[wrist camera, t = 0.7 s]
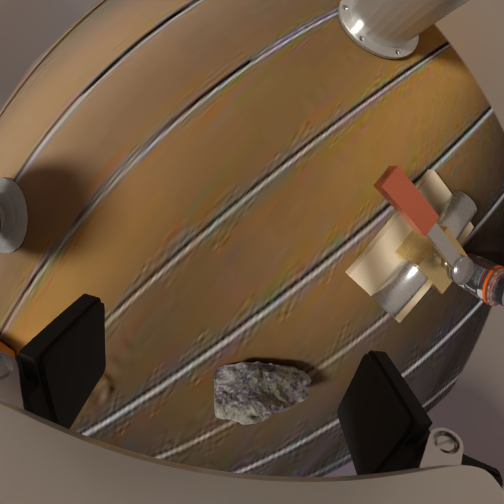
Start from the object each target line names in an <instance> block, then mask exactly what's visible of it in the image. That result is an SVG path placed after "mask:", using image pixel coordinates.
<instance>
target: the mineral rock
mask: <svg viewBox="0 0 504 504" xmlns="http://www.w3.org/2000/svg"><path fill="white" fill-rule="evenodd" d="M310 382H311V378H310V377H309V376H308V375H307V374H306V373H305V372H303V371H302V370H298V369H297V368H295V367H291V366H280V365H275V364H273V363H268V364H264V363H261V362H259V361H257V362H254V363H250V362H241V363H238V364H231V365H224V366H222V367H219V368H218V369H217V370H216V372H215V375H214V385H215V394H214V408H215V415H216V417H217V418H220V419H232V420H235V421H237V422H240V423H241V424H255V423H257V422H260V421H264V420H265V419H267V418H268V417H269V416H271V415H272V414H276V413H278V412H283V411H286V410H288V409H289V408H292V407H293V406H294V405H296V404H297V403H300V402H301V401H304V400H305V399H307V398H308V397H309V393H308V392H307V388H308V386H309V385H310Z"/></svg>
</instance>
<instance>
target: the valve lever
mask: <svg viewBox="0 0 504 504" xmlns="http://www.w3.org/2000/svg"><path fill="white" fill-rule="evenodd" d="M374 187H375V188H376V189H377V190H378V191H379V192H380V193H381V194H382V195H383V196H384V197H385V198H386V199H387V200H388V202H389V203H390V204H391V205H392V206H393V207H394V208H395V209H396V210H397V212H398V213H399V214H400V215H401V216H402V217H403V218H404V219H405V221H406V222H407V223H408V224H409V225H410V226H411V228H412V229H413V230H414V231H415V232H416V233H417V234H420V235H422V236H426V237H427V238H428V240H429V241H430V242H431V244H432V245H433V246H434V247H435V249H436V250H437V251H438V253H439V254H440V255H441V257H442V258H443V259H444V261H445V262H446V263H447V269H446V272H447V276H448V278H449V279H450V280H452V281H453V282H455V283H457V284H459V285H464V284H466V283H467V282H468V281H469V280H470V279H471V277H472V274H473V271H474V264H473V261H472V260H471V259H470V258H468V257H466V256H464V255H462V254H459V253H458V251H457V250H456V249H455V247H454V246H453V244H452V243H451V241H450V240H449V239H448V237H447V236H446V235H445V233H444V232H443V230H442V229H441V228H440V226H439V225H438V224H437V220H438V219H439V216H438V214H437V213H436V212H435V210H434V209H433V208H432V207H431V205H430V204H429V203H428V201H427V200H426V199H425V198H424V196H423V195H422V194H421V193H420V192H419V190H418V189H417V188H416V187H415V185H414V184H413V183H412V182H411V181H410V180H409V178H408V177H407V176H406V175H405V174H404V173H403V171H402V170H401V169H400V168H399V167H398V166H389V167H388V168H387V169H386V171H385V172H384V173H383V174H382V176H381V177H380V178H379V179H378V181H377V182H376V183H375V184H374Z"/></svg>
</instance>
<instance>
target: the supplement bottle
mask: <svg viewBox="0 0 504 504" xmlns="http://www.w3.org/2000/svg"><path fill="white" fill-rule="evenodd" d="M467 256H468V258H470V259H471V260H472V261H473V264H474V271H473V274H472V277H471V279H470V280H469V281H468V282H467V283H466V284H464V285H459V284H458V286H460V287H461V288H462V289H464V290H466V291H467V292H469V293H471V294H472V295H474V296H476V297H477V298H479V299H480V300H482V301H483V302H485V303H487V304H488V305H491V306H497V305H499V304H500V305H502V306H504V267H503V266H501V265H498V264H496V263H494V262H492V261H490V260H487V259H485V258H483V257H480V256H478V255H475V254H472V253H469V254H467Z"/></svg>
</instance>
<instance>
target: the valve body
mask: <svg viewBox="0 0 504 504" xmlns="http://www.w3.org/2000/svg"><path fill="white" fill-rule="evenodd" d="M476 211H477V207H476V205H475V203H474V202H473V200H472V199H471V198H470V197H469V196H467V195H466V194H465V193H463V192H461V191H458V190H455V191H454V192H453V193H452V195H451V196H450V197H449V199H448V200H447V202H446V203H445V205H444V206H443V207H442V209H441V210H440V212H439V213H438V216H439V219H438V220H437V224H438V225H439V226H440V228H441V229H442V230H443V232H444V233H445V235H446V236H447V237H448V239H449V240H450V241H451V243H452V244H453V246H454V247H455V249H456V250H457V251H458V253H459V254H462V255H464V256H466V257H468V256H467V254H466V253H465V251H464V250H463V248H462V247H461V245H460V244H459V243H458V241H457V240H458V238H459V237H460V235H461V234H462V233H463V231H464V230H465V228H466V227H467V225H468V224H469V222H470V221H471V219H472V218H473V216H474V214H475V213H476ZM395 253H396V254H397V255H398V256H399V257H400V259H401V260H402V261H401V262H400V264H399V265H398V266H397V267H396V268H395V270H394V271H393V272H392V273H391V274H390V275H389V277H388V278H387V279H386V280H385V281H384V282H383V284H382V285H381V286H380V287H379V288H378V289H377V290H376V292H375V293H374V294H373V295H372V296H371V297H372V298H373V299H374V300H375V301H376V302H377V303H378V304H379V305H380V306H381V307H382V308H383V309H384V310H385V311H386V312H388V313H389V314H390V315H391V316H392V317H393V318H395V317H396V316H397V315H398V314H399V313H400V312H401V310H402V309H403V308H404V307H405V306H406V305H407V304H408V302H409V301H410V300H411V299H412V298H413V297H414V295H415V294H416V293H417V292H418V291H419V289H420V288H421V287H422V286H423V285H424V283H426V284H427V285H429V286H430V287H432V288H433V289H435V290H436V291H438V292H439V293H441V294H443V292H444V291H445V290H446V289H447V287H448V286H449V285H450V283H451V282H452V280H450V279H449V278H448V276H447V272H446V269H447V263H446V262H445V261H444V259H443V258H442V257H441V255H440V254H439V253H438V251H437V250H436V249H435V247H434V246H433V245H432V244H431V242H430V241H429V240H428V238H427V237H426V236H422V235H420V234H417V233H416V232H415V231H414V230H412V231H411V232H410V234H409V235H408V236H407V237H406V239H405V240H404V241H403V242H402V244H401V245H400V246H399V247H398V249H397V250H396V251H395Z"/></svg>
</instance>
